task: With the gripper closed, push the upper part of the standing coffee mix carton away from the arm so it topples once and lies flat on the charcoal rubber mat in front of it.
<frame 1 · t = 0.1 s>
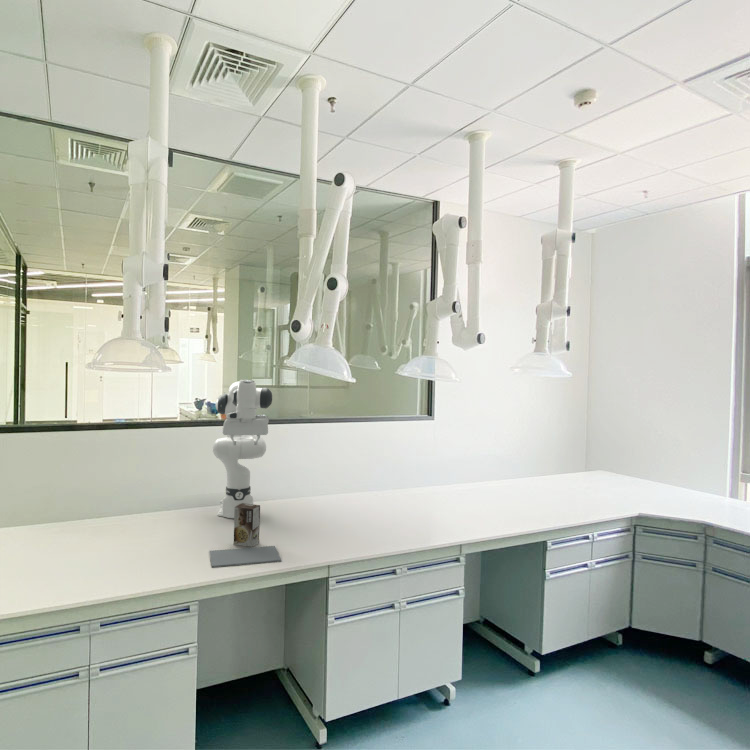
hand: (245, 445, 236), 39 cm above the lab bench, tool pointing down, fingers open, 8 cm apart
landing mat: (245, 556, 204), on the lab bench
coffee box: (246, 543, 219), on the lab bench
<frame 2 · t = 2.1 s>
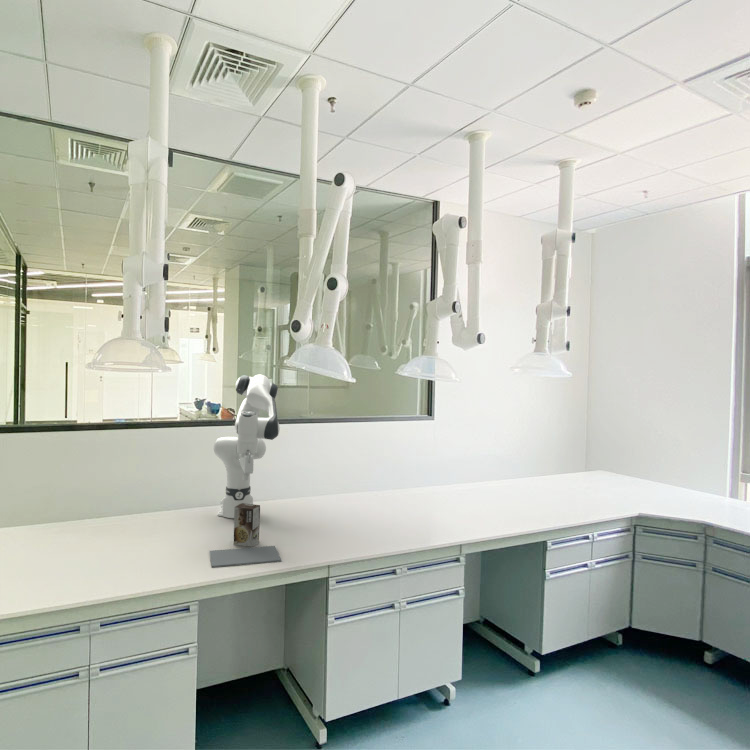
hand: (245, 479, 228), 25 cm above the lab bench, tool pointing down, fingers closed
nothing on the lab bench moved.
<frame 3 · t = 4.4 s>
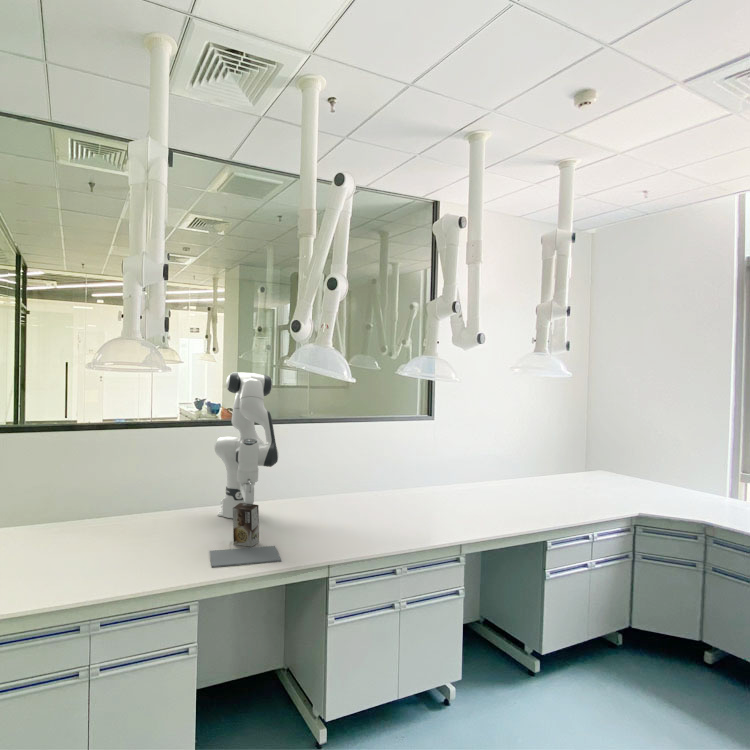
hand: (246, 508, 223), 13 cm above the lab bench, tool pointing down, fingers closed
coffee box: (246, 543, 219), on the lab bench, touching gripper
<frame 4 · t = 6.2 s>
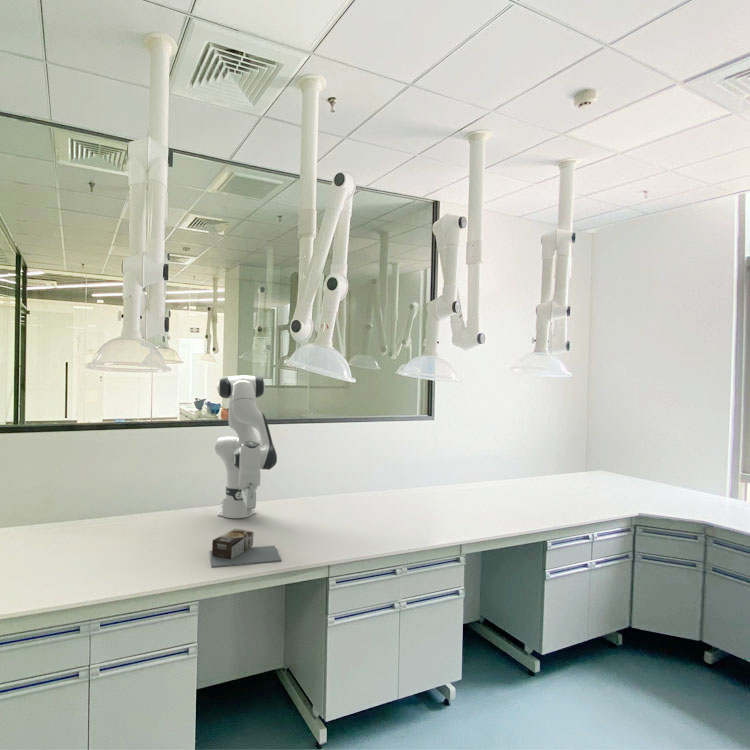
hand: (248, 514, 215), 14 cm above the lab bench, tool pointing down, fingers closed
coffee box: (244, 536, 216), point 4 cm above the lab bench, touching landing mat
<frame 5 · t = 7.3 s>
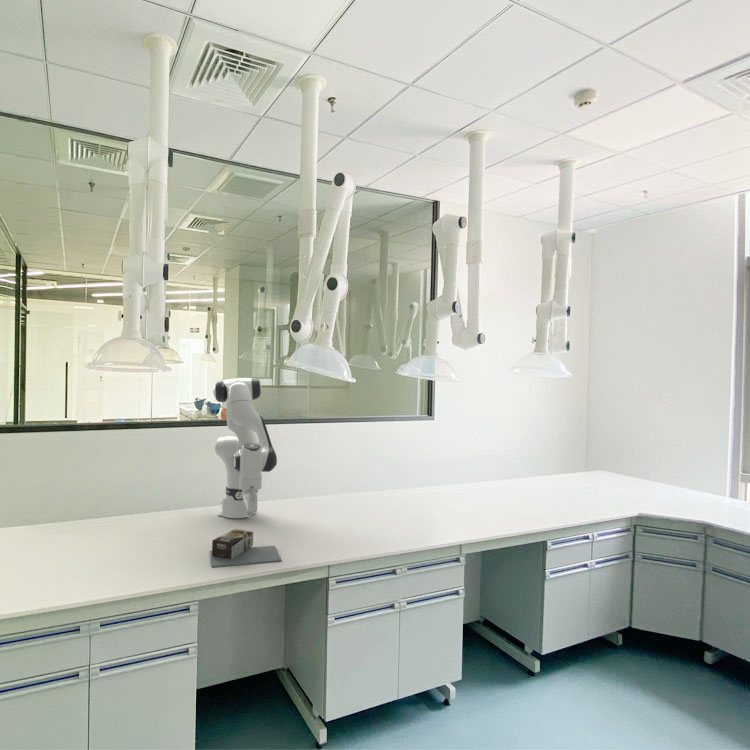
hand: (249, 517, 212), 13 cm above the lab bench, tool pointing down, fingers closed
nothing on the lab bench moved.
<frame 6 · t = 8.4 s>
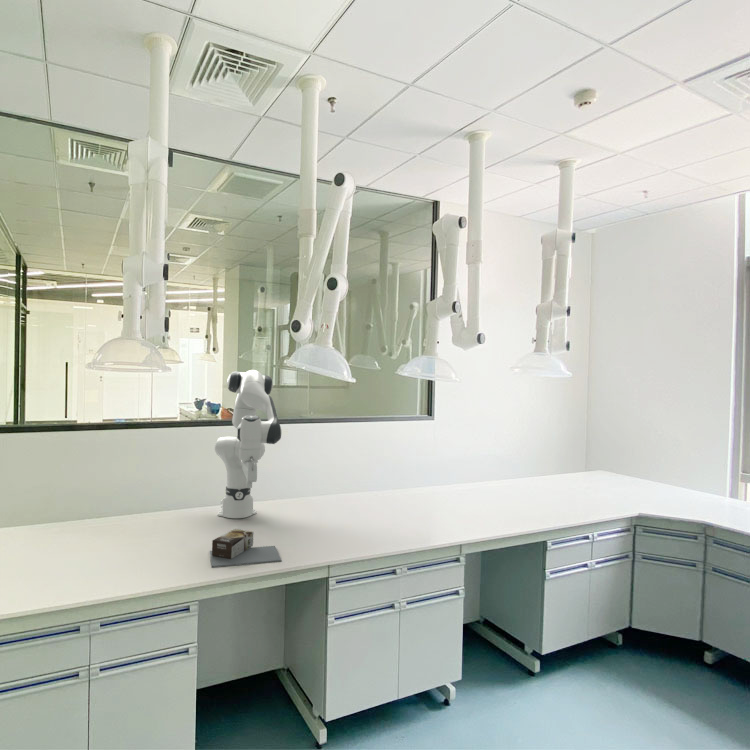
hand: (249, 487, 215), 25 cm above the lab bench, tool pointing down, fingers closed
nothing on the lab bench moved.
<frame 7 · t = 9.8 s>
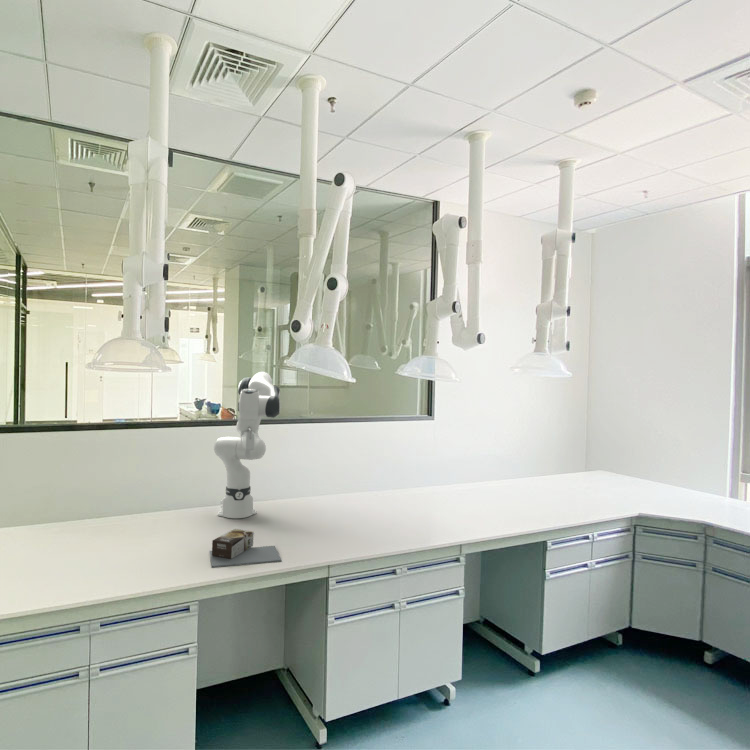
hand: (247, 457, 226), 35 cm above the lab bench, tool pointing down, fingers closed
nothing on the lab bench moved.
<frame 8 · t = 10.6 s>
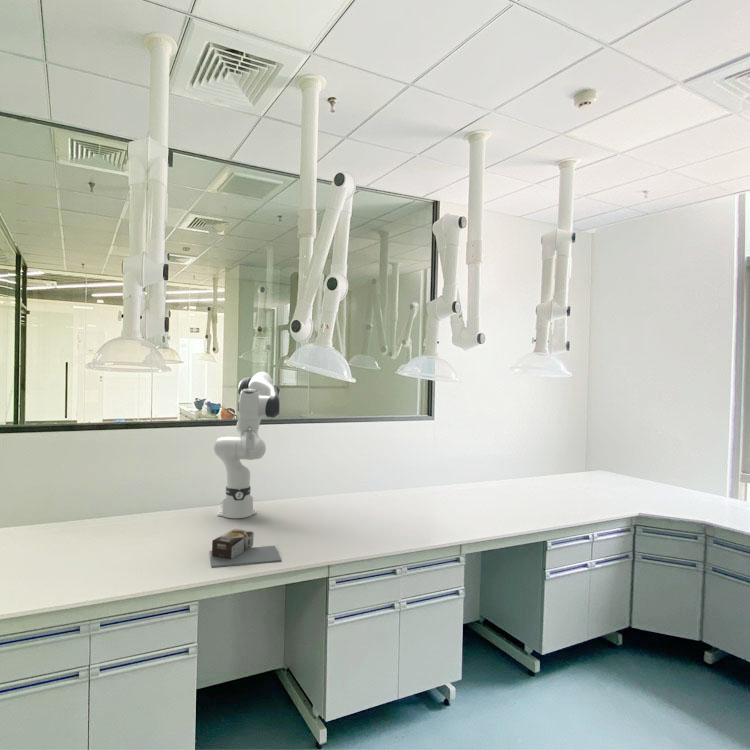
hand: (247, 457, 226), 35 cm above the lab bench, tool pointing down, fingers closed
nothing on the lab bench moved.
at the end: coffee box tilted 90°; coffee box touching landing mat; coffee box inside the target area (5.4 cm from its centre), point 3.8 cm above the lab bench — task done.
